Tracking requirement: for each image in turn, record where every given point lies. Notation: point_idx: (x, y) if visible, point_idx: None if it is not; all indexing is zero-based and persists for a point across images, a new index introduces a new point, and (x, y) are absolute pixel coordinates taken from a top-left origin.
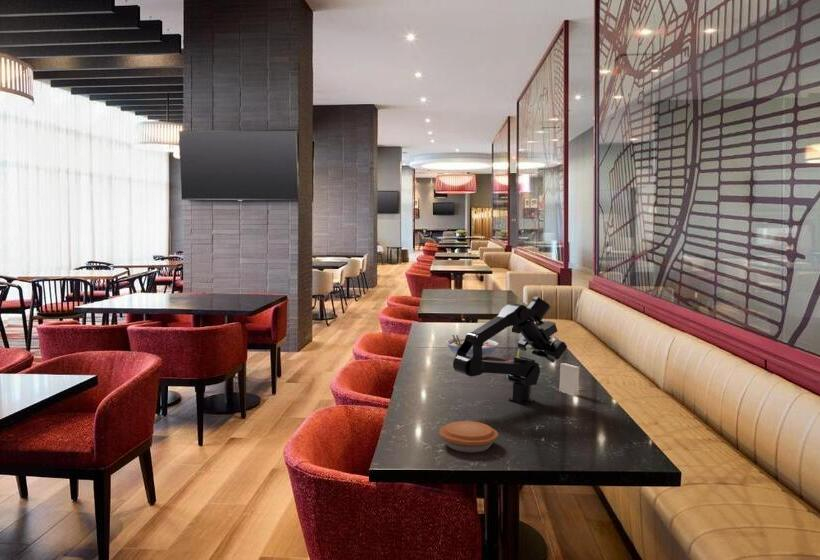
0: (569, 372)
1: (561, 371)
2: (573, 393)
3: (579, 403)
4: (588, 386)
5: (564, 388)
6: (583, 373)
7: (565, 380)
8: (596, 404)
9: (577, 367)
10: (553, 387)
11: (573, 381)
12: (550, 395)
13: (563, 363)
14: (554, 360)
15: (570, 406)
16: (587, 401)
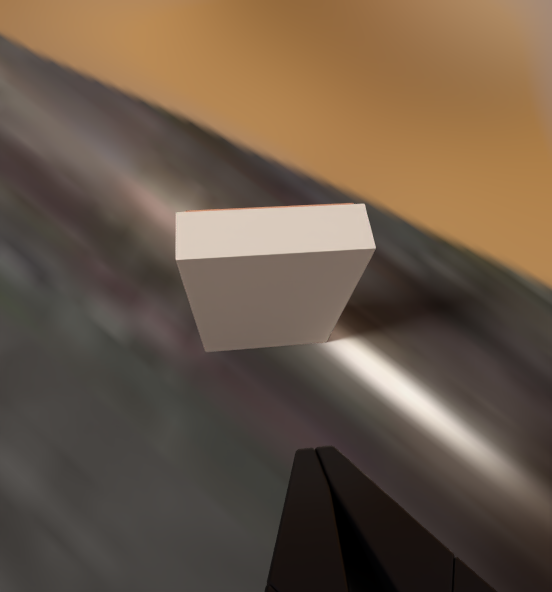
0: (298, 282)
1: (203, 294)
2: (325, 337)
3: (472, 417)
4: (198, 158)
5: (248, 338)
6: (9, 42)
7: (255, 317)
8: (502, 339)
9: (369, 224)
10: (120, 328)
11: (335, 307)
12: (265, 479)
13: (186, 232)
14: (338, 459)
15: (530, 526)
16: (441, 344)
